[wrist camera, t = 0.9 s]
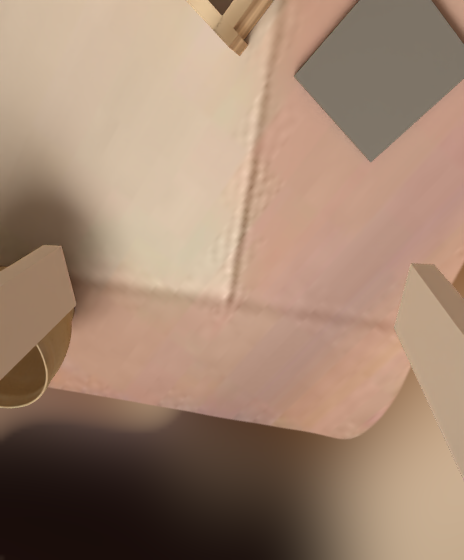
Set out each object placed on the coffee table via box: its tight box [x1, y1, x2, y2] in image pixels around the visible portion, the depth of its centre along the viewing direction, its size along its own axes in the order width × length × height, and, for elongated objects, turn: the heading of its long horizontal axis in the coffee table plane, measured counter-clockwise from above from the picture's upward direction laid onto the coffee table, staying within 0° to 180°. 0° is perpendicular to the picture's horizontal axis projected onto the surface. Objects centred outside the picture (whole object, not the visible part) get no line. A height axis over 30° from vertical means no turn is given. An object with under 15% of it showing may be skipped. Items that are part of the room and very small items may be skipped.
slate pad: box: [294, 0, 464, 162], centre depth 28 cm, size 10×10×1 cm
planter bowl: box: [0, 266, 74, 408], centre depth 40 cm, size 16×16×11 cm
